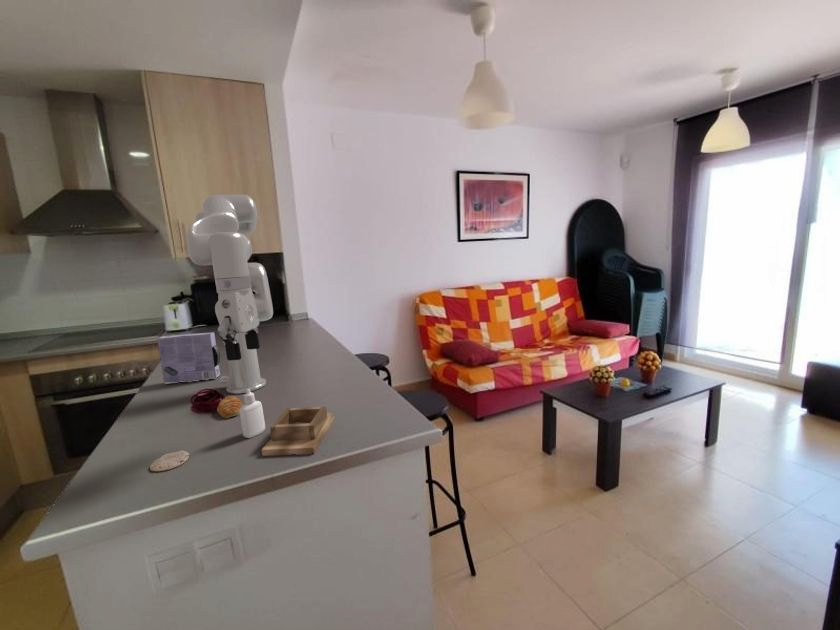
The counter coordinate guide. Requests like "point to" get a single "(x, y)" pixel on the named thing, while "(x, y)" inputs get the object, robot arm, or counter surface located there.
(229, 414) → the pastry
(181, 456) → the flatbread
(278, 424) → the holder stand
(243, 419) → the eye dropper bottle
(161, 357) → the cake pan box
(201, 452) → the counter surface
